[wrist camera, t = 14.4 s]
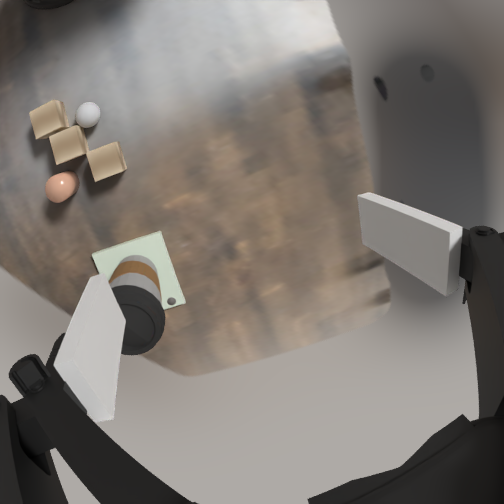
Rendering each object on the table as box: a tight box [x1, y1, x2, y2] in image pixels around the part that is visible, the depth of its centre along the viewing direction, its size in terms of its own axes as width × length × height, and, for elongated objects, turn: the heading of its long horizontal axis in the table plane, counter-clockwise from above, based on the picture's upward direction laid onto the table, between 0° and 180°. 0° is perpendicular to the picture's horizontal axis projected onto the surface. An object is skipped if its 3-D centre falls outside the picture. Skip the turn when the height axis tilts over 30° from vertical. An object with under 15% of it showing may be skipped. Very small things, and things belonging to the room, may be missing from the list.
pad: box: [92, 231, 186, 310], centre depth 47 cm, size 12×11×1 cm
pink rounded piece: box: [45, 171, 80, 203], centre depth 37 cm, size 4×4×5 cm
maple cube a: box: [29, 100, 70, 139], centre depth 34 cm, size 4×4×4 cm
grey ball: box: [75, 102, 100, 128], centre depth 36 cm, size 4×4×4 cm
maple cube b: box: [49, 125, 90, 165], centre depth 36 cm, size 4×4×4 cm
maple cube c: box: [86, 142, 127, 182], centre depth 39 cm, size 4×4×4 cm
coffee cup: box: [108, 255, 165, 355], centre depth 39 cm, size 8×8×15 cm
